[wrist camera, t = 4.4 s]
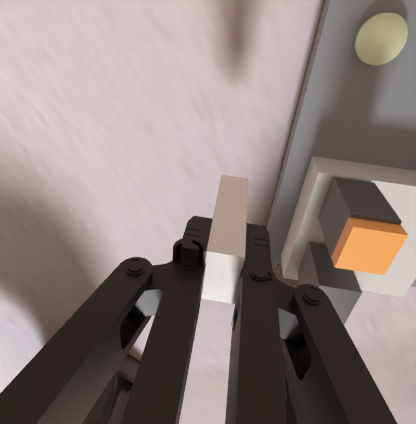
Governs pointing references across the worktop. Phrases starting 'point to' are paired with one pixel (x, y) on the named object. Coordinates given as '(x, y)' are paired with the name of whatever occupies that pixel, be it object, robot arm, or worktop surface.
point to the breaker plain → (329, 279)
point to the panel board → (353, 132)
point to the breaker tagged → (360, 227)
